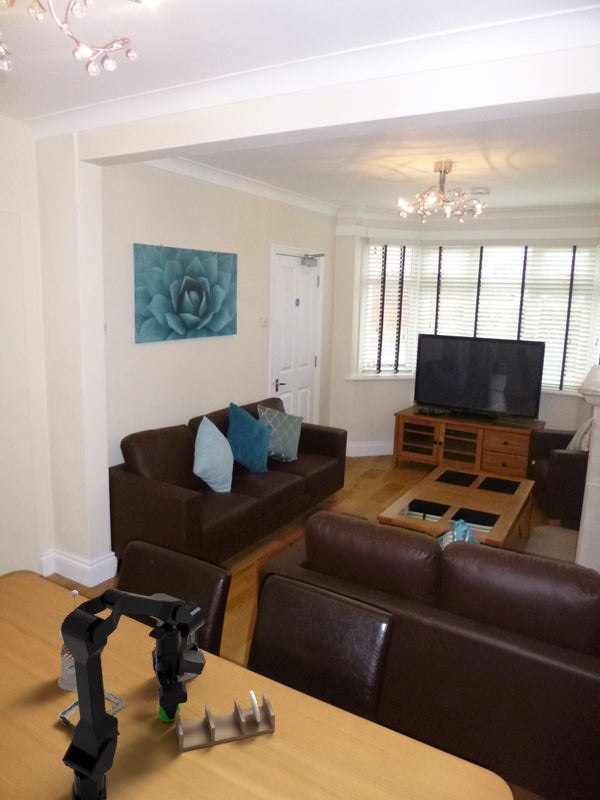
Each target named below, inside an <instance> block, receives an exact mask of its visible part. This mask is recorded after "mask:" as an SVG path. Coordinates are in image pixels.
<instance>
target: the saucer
mask: <svg viewBox="0 0 600 800" xmlns="http://www.w3.org/2000/svg"><path fill="white" fill-rule="evenodd" d="M248 698H249V702H250V705H251V706H250V708H252V711H253V714H254V717H255V720H256V722H257V723H258V722H261V719H260V713H259V709H258V707H259V706H258V702H257V698H256V694H255V693H254V690H248Z"/></svg>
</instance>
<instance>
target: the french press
mask: <svg viewBox="0 0 600 800" xmlns="http://www.w3.org/2000/svg"><path fill="white" fill-rule="evenodd" d="M69 594H70V595H69V596H70V597H73V599H74V605H73V606H74V608H76V597H78V596H79V592H78V590H76V589H74V590H71V591H70V593H69ZM58 634H59V635H58V636H59V638H60V639H62V640H63V637H62V634H61V629H59V633H58ZM104 650H105V648H104V649H103V651H102V652H101V656H102V654H103V653H104ZM60 663H61V664H60V665H61V674H60V676H59V677H58V680H57V685H58V687H60V688H61V689H62V690H65V691H69V692H71V691H72V692H73V691H76V692H77V683H76V673H75V664H74V658H73V656H72V655H71V653H70V652H69V650H68V649H67V647H66V646H65V644H64V643H62V646H61V650H60Z"/></svg>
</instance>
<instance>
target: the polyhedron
mask: <svg viewBox="0 0 600 800" xmlns="http://www.w3.org/2000/svg"><path fill="white" fill-rule="evenodd" d="M158 706H159V705H158ZM177 710H179V714H180V712H181V706H180V704H179V705H178V707H177ZM158 716H159V717H160V719H161V720H162V721H164V722H166V723H169V722H172V721H175V717H174V719H172V720H169V719H168V717H167V715H166V714H165V712H164V710H163V709H162V707H160V706H159V707H158Z"/></svg>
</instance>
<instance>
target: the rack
mask: <svg viewBox="0 0 600 800" xmlns="http://www.w3.org/2000/svg"><path fill="white" fill-rule="evenodd" d="M233 699H234V700H233V701H234V704H233V705H234V706H233V709H234V710H233V711H230V712H226V713H221V714H216V715H212V712H211V707H210V704H209V703H207V704H205V705H204V706H205V707H204V709H205V710H204V712H205V713H204V717H201V718H196V719H192V720H186V721H181V715H180V713H179V710H176V714H175V720H174V723H175V724H174V725H175V726H174V727H175V732H176V738H177V743H178V748H179V752H180V753H181V752H185V751H190V750H195V749H199V748H204V747H208V746H213V745H217V744H222V743H226V742H231V741H235V740H241V739H245V738H249V737H253V736H258V735H264V734H267V733H272V732H275V731H276V730H275V729H276V728H275V726H276V713H275V711H274V709H273V707H272V704H271V701H270V699H269V697H268V695H267V692H263V693H262V700H261V701H262V705H260V706H258V709H259V713H260V719H261V722H258V723H257V722H256V720H255V717H254V714H253V711H252V707H250V708H244V709H242V708H241V704H240V701H239V699H238V698H233Z"/></svg>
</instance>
